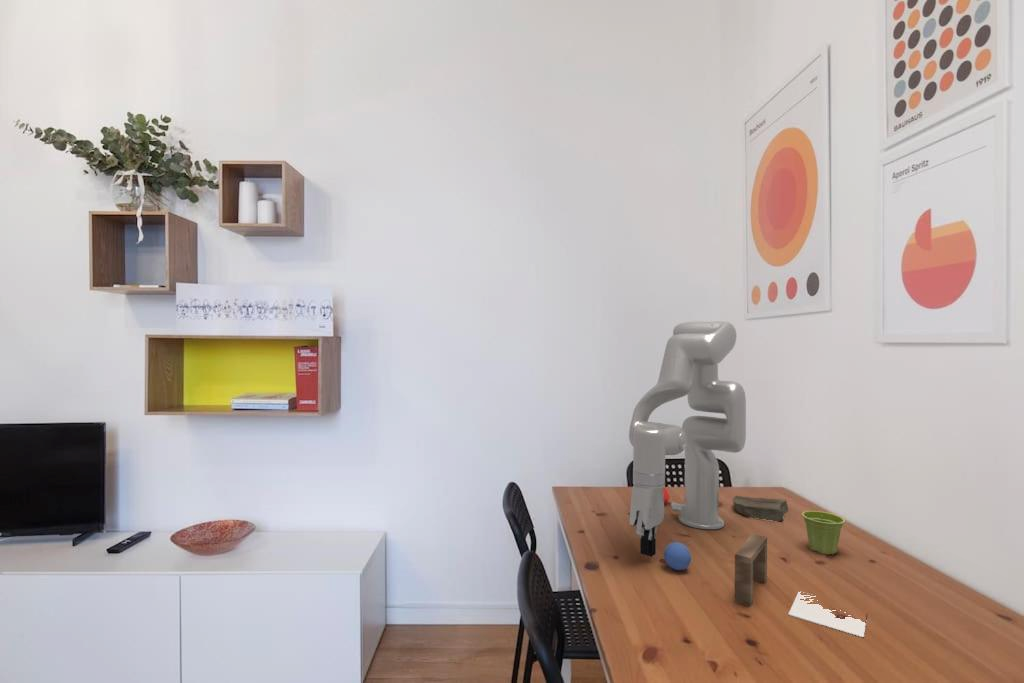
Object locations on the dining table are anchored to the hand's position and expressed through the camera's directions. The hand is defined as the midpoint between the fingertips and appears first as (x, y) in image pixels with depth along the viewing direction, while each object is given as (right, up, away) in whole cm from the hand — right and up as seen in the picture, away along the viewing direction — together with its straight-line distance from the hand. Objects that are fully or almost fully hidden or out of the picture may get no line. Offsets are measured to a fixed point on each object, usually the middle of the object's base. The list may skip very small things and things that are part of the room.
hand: (647, 554), depth 121 cm
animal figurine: (+15, -3, +49) cm, 52 cm away
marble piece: (+46, -4, +37) cm, 60 cm away
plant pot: (+48, -3, +8) cm, 48 cm away
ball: (+6, +1, -4) cm, 7 cm away
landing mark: (+29, -2, -23) cm, 37 cm away
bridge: (+18, -2, -14) cm, 23 cm away
